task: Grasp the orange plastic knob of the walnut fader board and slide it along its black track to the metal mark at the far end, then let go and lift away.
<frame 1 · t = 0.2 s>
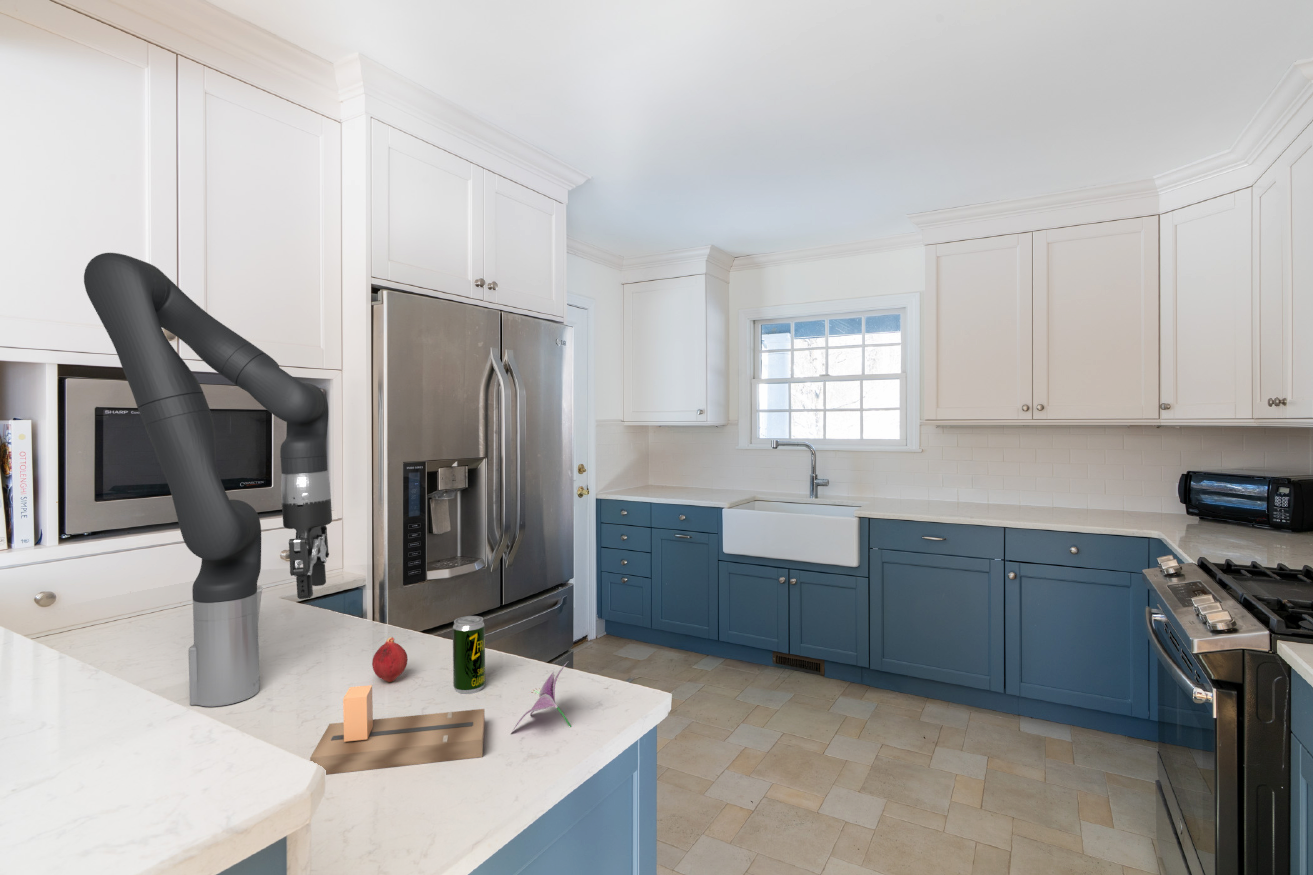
hand: (312, 591, 116), 17 cm above the worktop, tool pointing down, fingers open, 8 cm apart
fader knob: (358, 712, 94), point 6 cm above the worktop, slide at 2.0 cm
onion: (390, 683, 120), on the worktop
fader base: (404, 748, 96), on the worktop
green soda can: (469, 689, 117), on the worktop
lily: (544, 726, 103), on the worktop
dixie cup: (241, 636, 146), on the worktop
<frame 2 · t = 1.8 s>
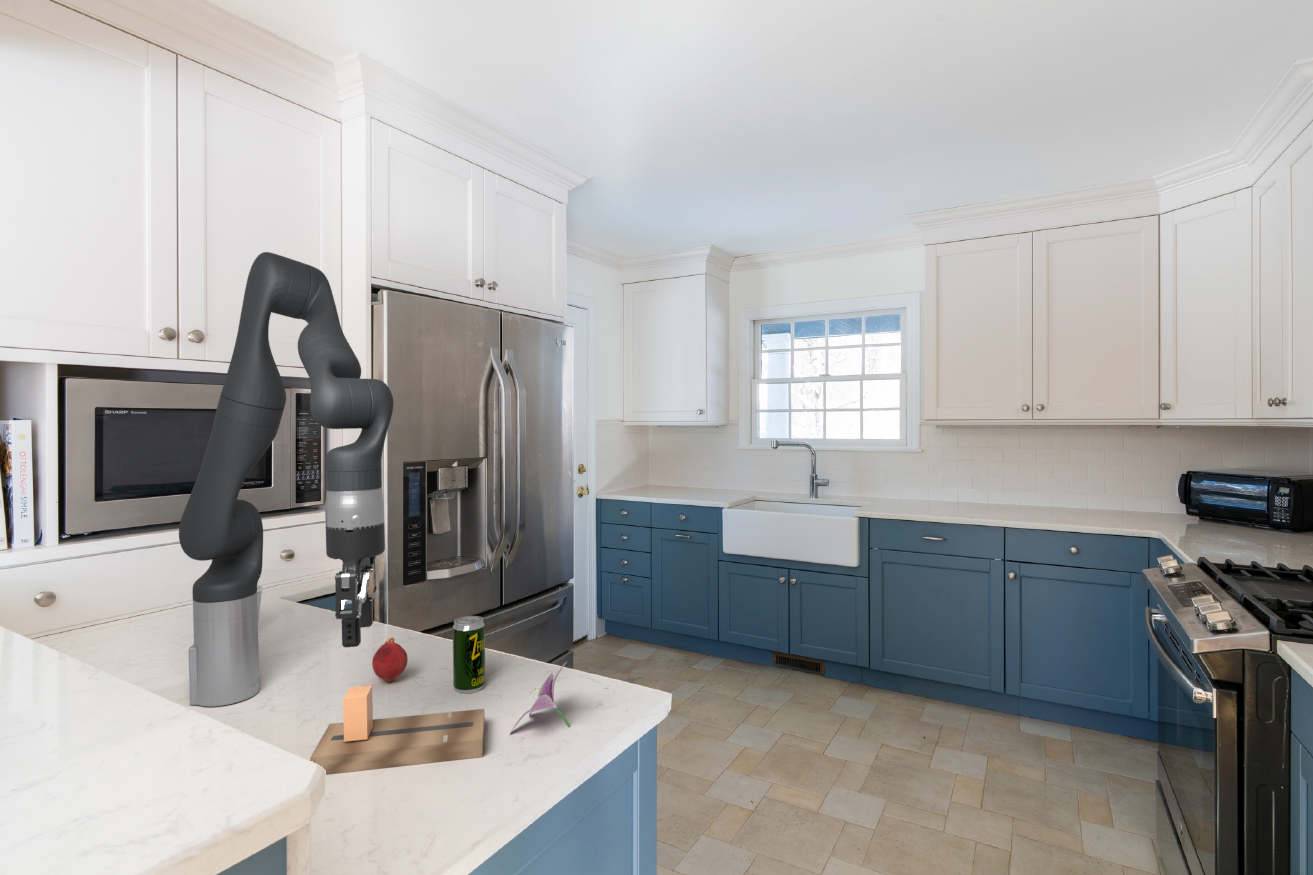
hand: (358, 635, 94), 17 cm above the worktop, tool pointing down, fingers open, 8 cm apart
nothing on the worktop moved.
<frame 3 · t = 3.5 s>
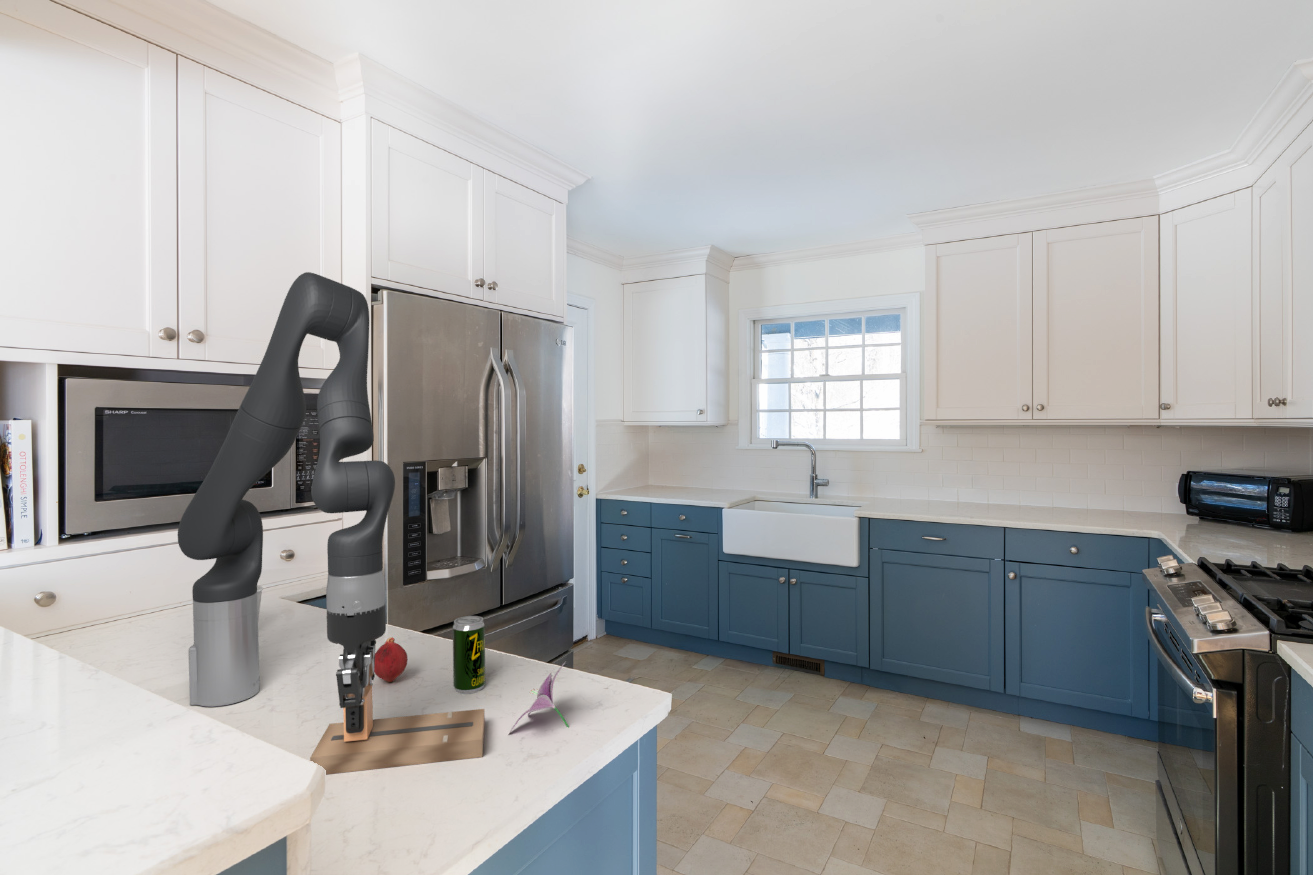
hand: (358, 723, 94), 4 cm above the worktop, tool pointing down, fingers closed on fader knob, 4 cm apart
fader knob: (358, 712, 94), point 6 cm above the worktop, slide at 2.0 cm, touching gripper
everything else where it was.
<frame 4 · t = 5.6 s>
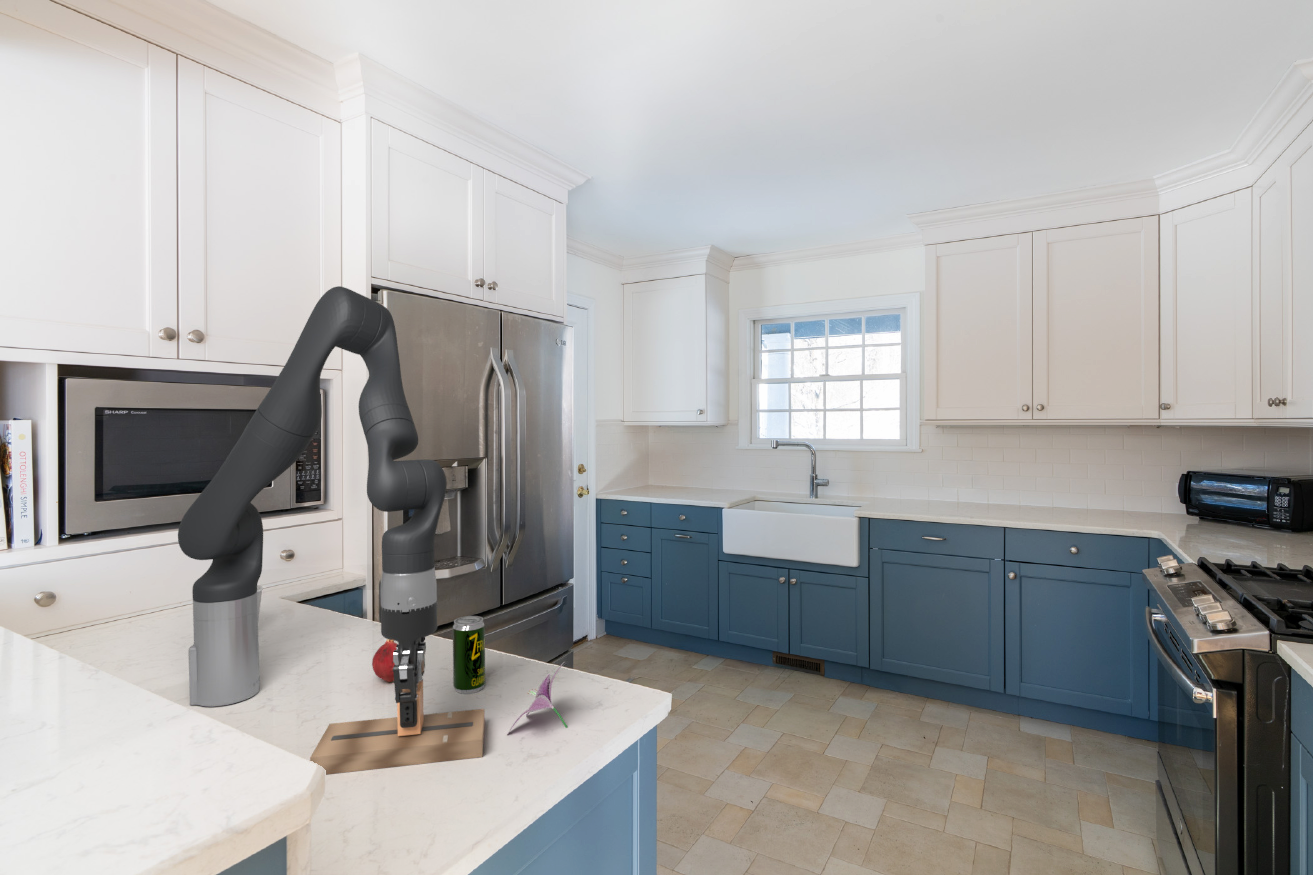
hand: (411, 718, 96), 4 cm above the worktop, tool pointing down, fingers closed on fader knob, 4 cm apart
fader knob: (410, 707, 96), point 6 cm above the worktop, slide at 9.0 cm, touching gripper
everything else where it was.
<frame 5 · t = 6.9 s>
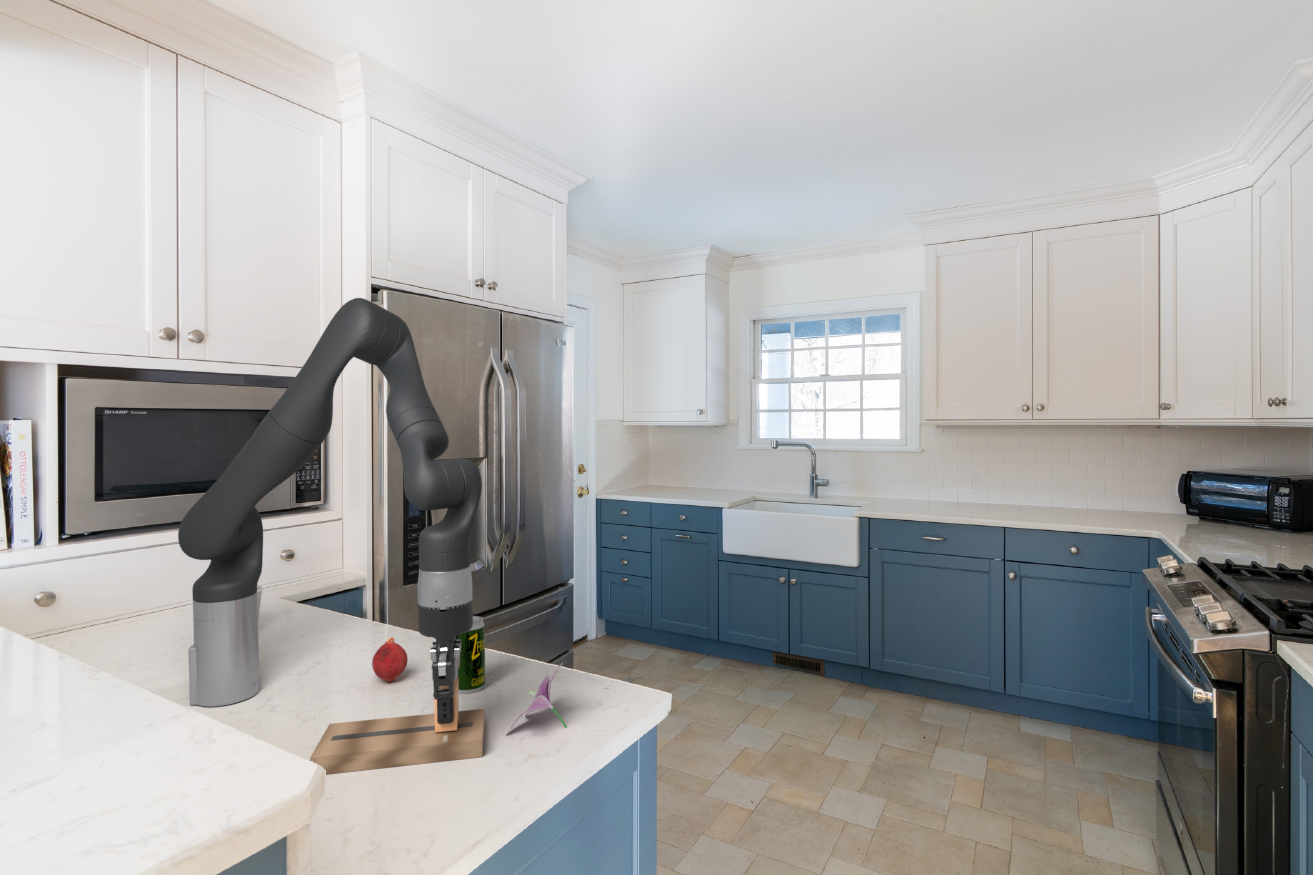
hand: (447, 714, 97), 4 cm above the worktop, tool pointing down, fingers closed on fader knob, 4 cm apart
fader knob: (446, 704, 97), point 6 cm above the worktop, slide at 13.9 cm, touching gripper
everything else where it was.
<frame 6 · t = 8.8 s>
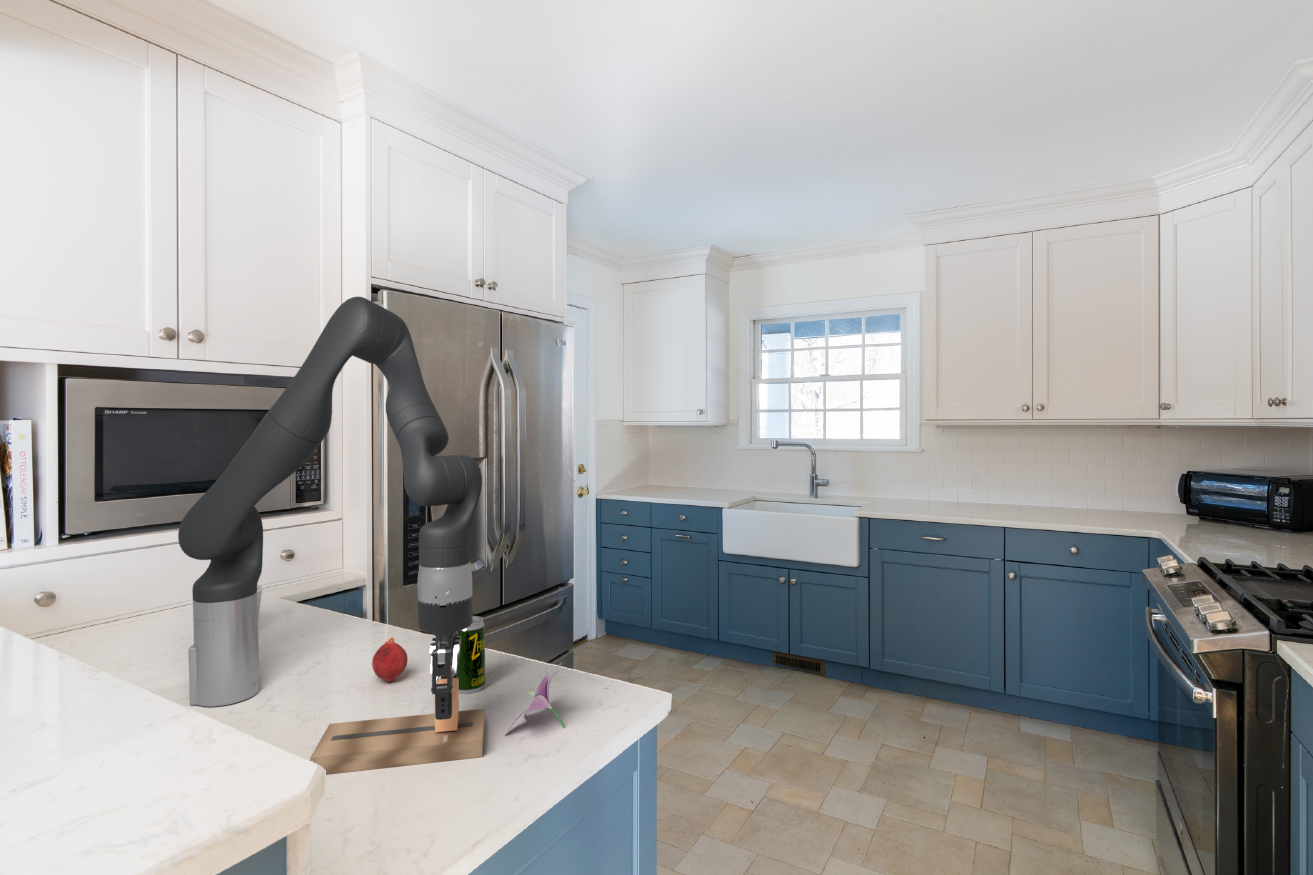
hand: (446, 705, 97), 6 cm above the worktop, tool pointing down, fingers open, 8 cm apart
fader knob: (447, 704, 97), point 6 cm above the worktop, slide at 14.0 cm
everything else where it was.
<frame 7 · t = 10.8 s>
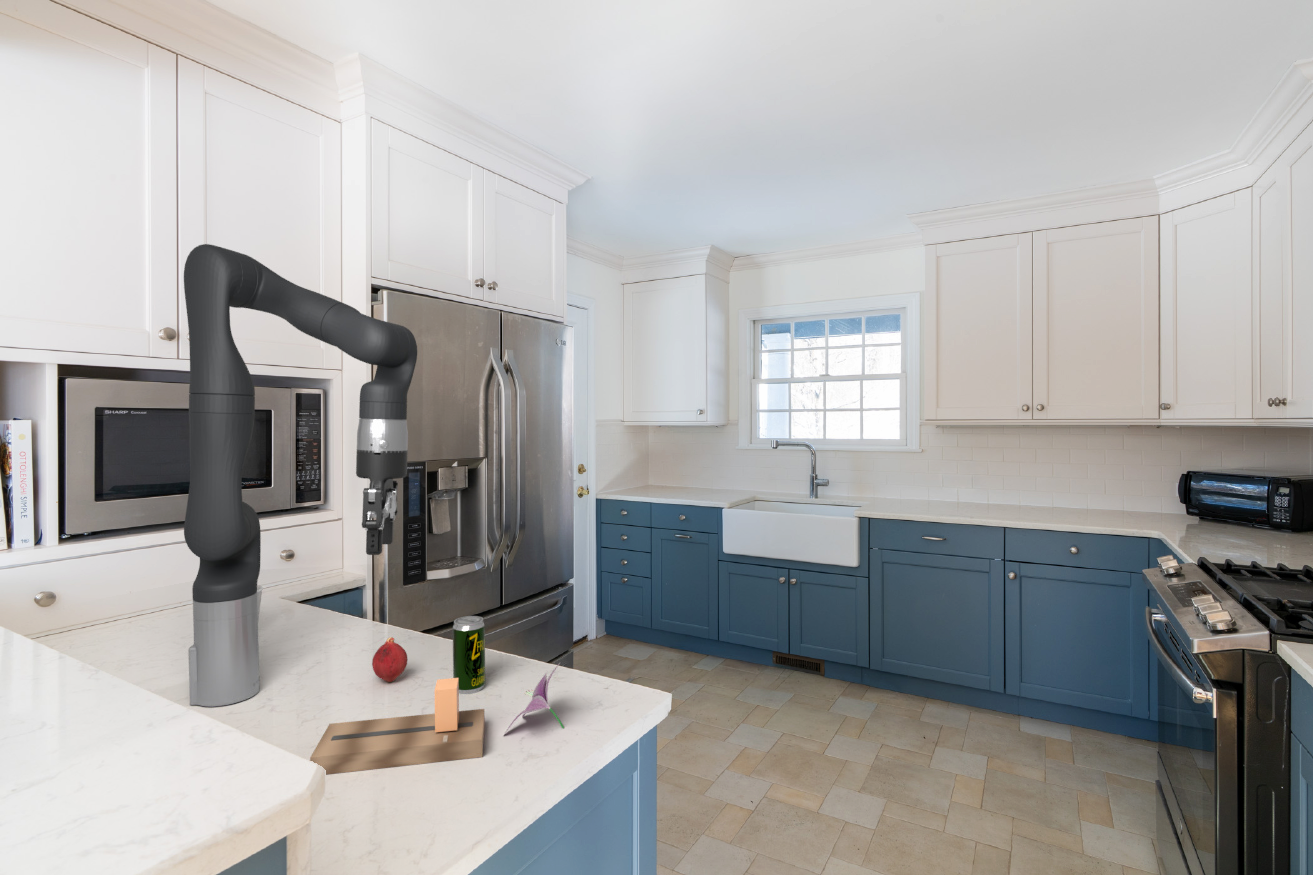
hand: (379, 549, 107), 26 cm above the worktop, tool pointing down, fingers open, 8 cm apart
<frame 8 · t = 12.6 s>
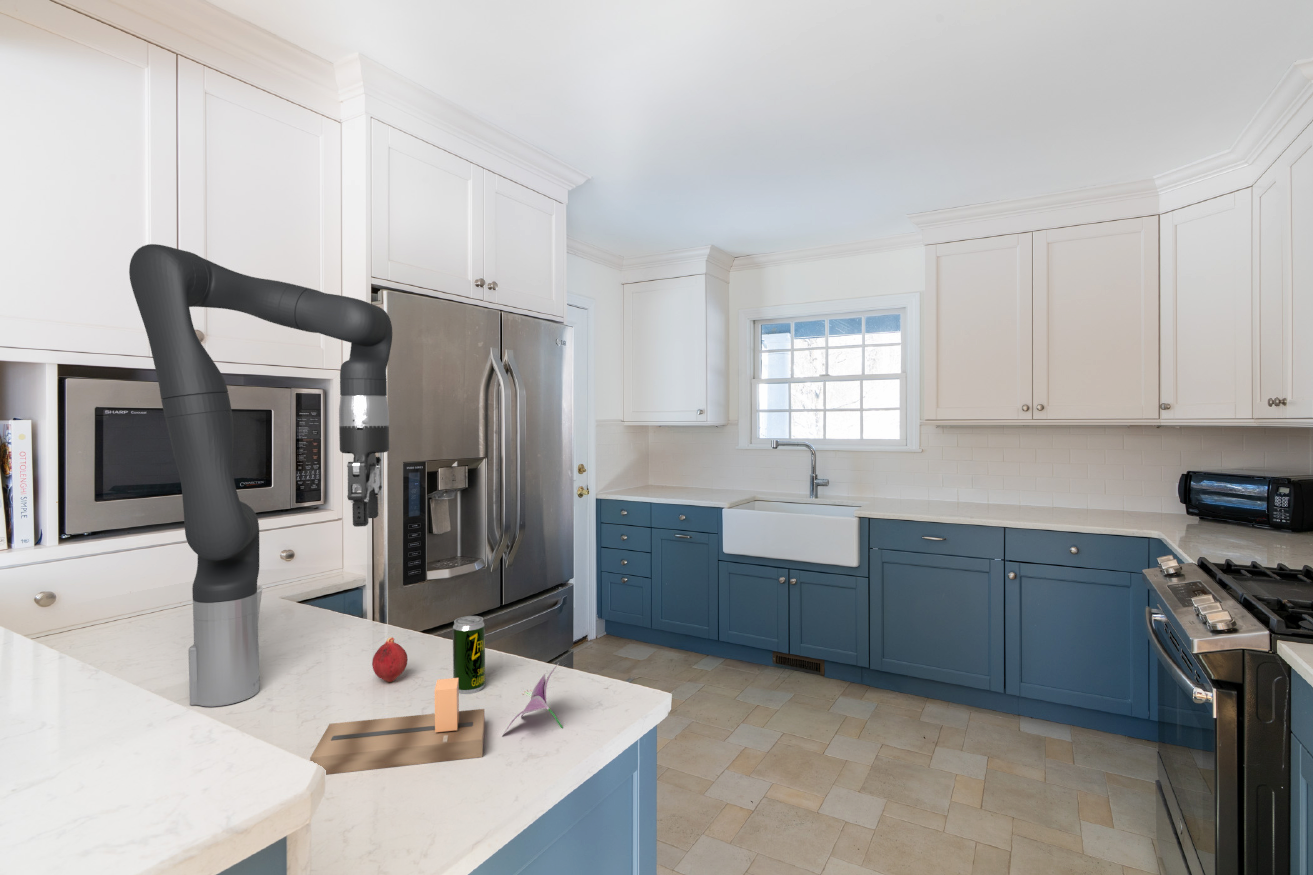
hand: (366, 521, 111), 30 cm above the worktop, tool pointing down, fingers open, 8 cm apart
at the end: fader knob slide at 14.0 cm; the gripper is holding nothing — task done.
